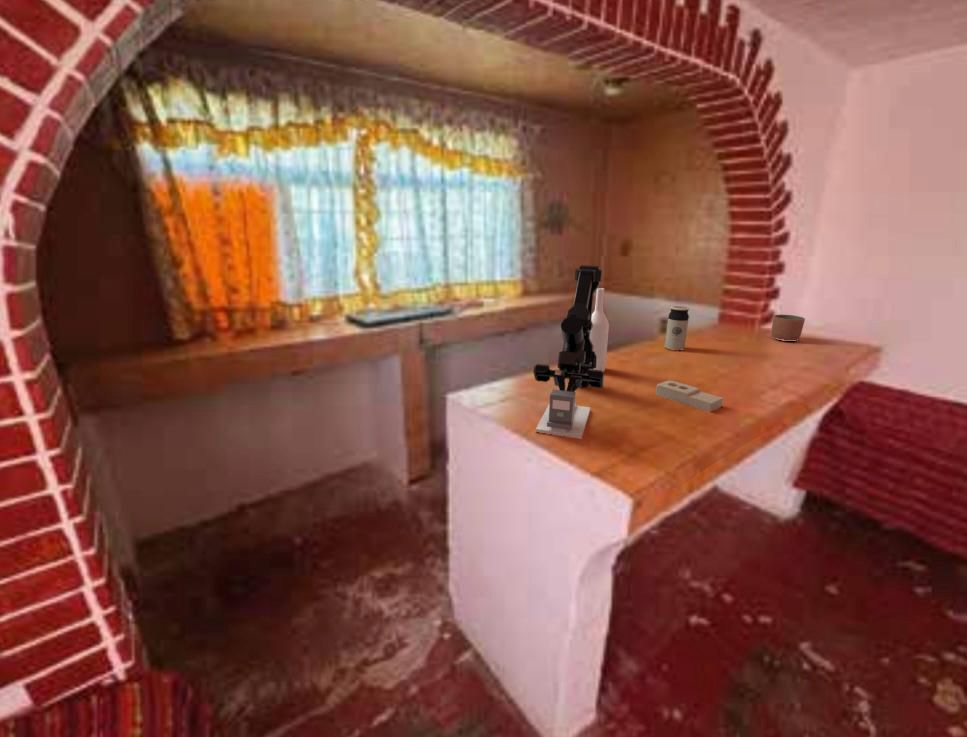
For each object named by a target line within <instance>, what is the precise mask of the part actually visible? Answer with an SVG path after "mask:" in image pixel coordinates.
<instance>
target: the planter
mask: <svg viewBox="0 0 967 737" xmlns="http://www.w3.org/2000/svg"><path fill="white" fill-rule="evenodd" d="M805 321H806V318H805V317H803V316H799V315H792V314H774V315H773V319H772V325H771V337H774V338H778V339H784V340H797V339H798V340H799V339H800V338H801V336H802V332H803V328H804V325H805ZM798 340H797V341H798Z"/></svg>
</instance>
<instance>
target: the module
mask: <svg viewBox="0 0 967 737" xmlns="http://www.w3.org/2000/svg"><path fill="white" fill-rule="evenodd" d="M576 393H577V392H576V391H575V392H570V391H566V390H565V391H562V390H560V389H552V390H551V392H550V394H549V403H550V407H549V422H556V423H564V424H571V425H573V422H574V408H575V403H576Z"/></svg>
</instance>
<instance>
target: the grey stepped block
mask: <svg viewBox="0 0 967 737" xmlns="http://www.w3.org/2000/svg"><path fill="white" fill-rule="evenodd" d="M655 389H656V390H655V392H656V393H655V396H659V397H662V398H665V399H667V400H671V401H674V402H677V403H680V404H683V405H686V406H689V407H692V408H696V409H698V410H702V411H704V412H708V413H711V412H713V411H715V410H718V409H719V408H722V407H723V401H724V397H721V396H717V395H714V394H711V393H707V392H704V391H701V389H700V388H699V387H695V386H692V385H689V384H685V383H683V382H682V383H681V382H679V381H678V382H677V381H675V380H672V379H669V380H666V381H662V382H660V383H658V384H656V388H655ZM721 406H722V407H721Z"/></svg>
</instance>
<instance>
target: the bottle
mask: <svg viewBox="0 0 967 737" xmlns="http://www.w3.org/2000/svg"><path fill="white" fill-rule="evenodd" d="M595 294H596V296H595V303H594V304H595V305H594V306H595V307H594V311H592V319H591V321H592V323H593V328H592V329H591V331H590V340H591V342H592V344H593V346H594V348H593V351H595V355H596V356H597V362H596V368H594V369H592V370H602V372H603V373H604V372H605V370H606V364H607V362H606V361H607V352H608V340H609V333H610V332H609V331H610V323H609V320H608V318H607V316H606V314H605V313H604V297H605V288H603V287H601V288H600V287H598V289H597V290H596V291H595Z"/></svg>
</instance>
